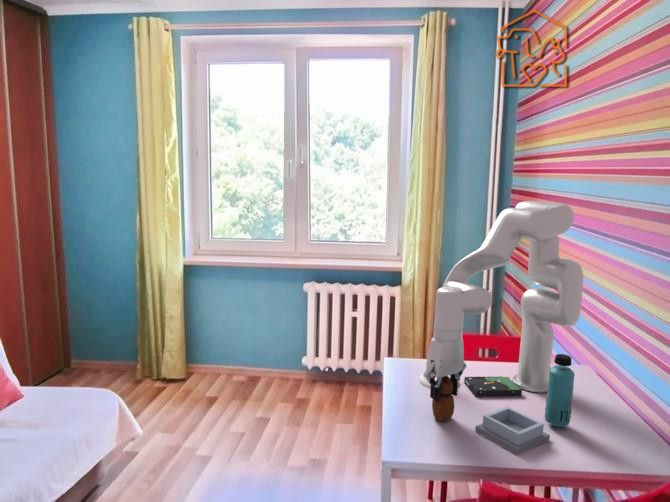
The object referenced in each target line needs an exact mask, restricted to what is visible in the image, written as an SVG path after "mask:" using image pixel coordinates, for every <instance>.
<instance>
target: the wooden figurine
mask: <svg viewBox="0 0 670 502" xmlns="http://www.w3.org/2000/svg"><path fill="white" fill-rule="evenodd" d="M439 387H441V394H440V401H436V400H434V399H432V400H431V401H432V402H431V408H432V413H433V416H434V419H436V420H437V421H438V422H439V421H440V422H445V423H446V422H448V421H450V420H451V419H452V418H453V415H454V413H455V399H454V395H452V394H451V393H452V391H453V383H452V381H451V380H449V377H448V376H444V377H442V379H441V382H440V385H439Z"/></svg>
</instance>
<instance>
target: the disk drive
mask: <svg viewBox="0 0 670 502" xmlns="http://www.w3.org/2000/svg"><path fill="white" fill-rule="evenodd" d="M463 379H464V381H463V382H464V383H463V384H464V385H465V386H466V387H467V388H468V390H469V391H470V393H471V394H472V395H473V396H474V398H485V397H487V398H493V397H494V398H495V397H496V398H497V397H498V398H499V397H503V398H504V397H505V398H506V397H508V398H509V397H522V392H523V389H521V388H520V387H519V386H518V385H517V384H516V383H514V382H513V381H512V378H510V377H509V376H508V377H507V376H464V378H463Z"/></svg>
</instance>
